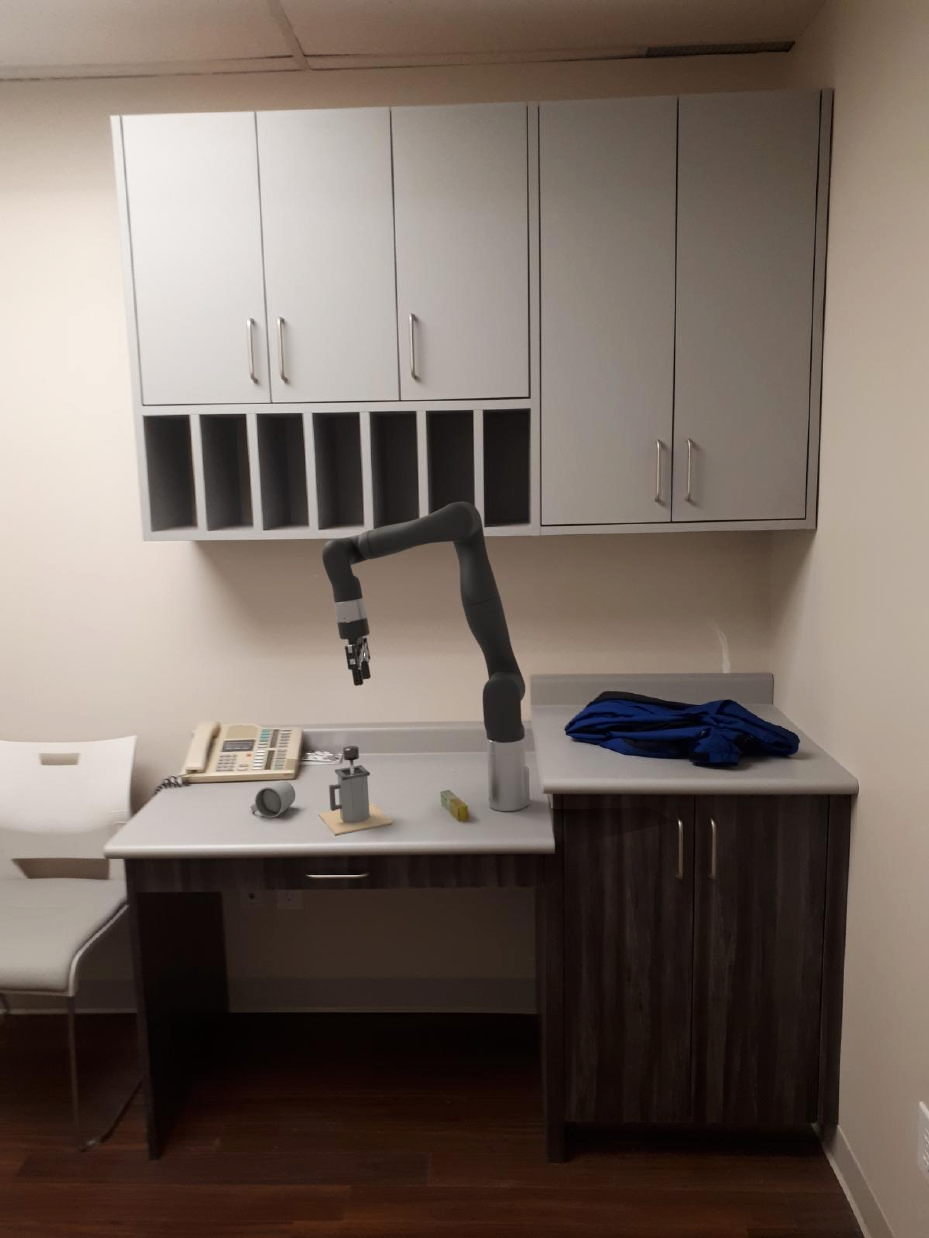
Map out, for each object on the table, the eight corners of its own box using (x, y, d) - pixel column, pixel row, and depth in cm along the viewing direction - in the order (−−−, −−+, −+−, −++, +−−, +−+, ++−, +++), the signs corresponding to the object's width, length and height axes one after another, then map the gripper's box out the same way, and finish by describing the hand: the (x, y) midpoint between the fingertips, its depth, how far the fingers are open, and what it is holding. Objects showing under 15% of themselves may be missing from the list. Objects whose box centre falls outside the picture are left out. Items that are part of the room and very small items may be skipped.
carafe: (373, 804, 225) (370, 758, 223) (392, 823, 213) (389, 774, 211) (318, 815, 220) (315, 767, 218) (335, 835, 207) (331, 785, 205)
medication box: (440, 806, 223) (439, 791, 222) (450, 804, 224) (449, 789, 223) (458, 823, 212) (457, 807, 211) (469, 820, 213) (468, 804, 212)
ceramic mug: (298, 806, 226) (296, 777, 225) (283, 818, 218) (281, 788, 217) (260, 804, 229) (257, 775, 228) (244, 816, 221) (241, 786, 220)
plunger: (359, 800, 218) (355, 745, 216) (363, 804, 215) (360, 748, 212) (344, 802, 216) (341, 747, 214) (349, 807, 213) (345, 751, 211)
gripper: (344, 617, 232) (354, 678, 233) (330, 623, 218) (341, 689, 219) (372, 613, 231) (383, 674, 232) (360, 619, 217) (371, 685, 218)
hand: (362, 681), depth 226 cm, fingers open, 8 cm apart
